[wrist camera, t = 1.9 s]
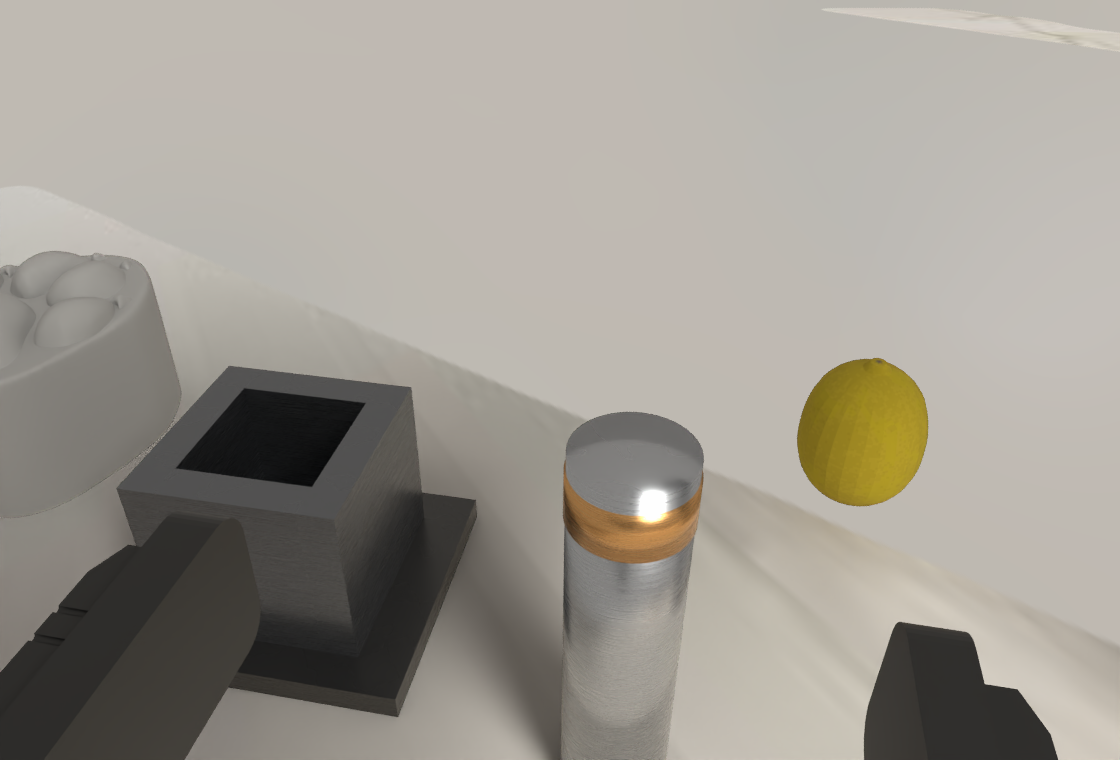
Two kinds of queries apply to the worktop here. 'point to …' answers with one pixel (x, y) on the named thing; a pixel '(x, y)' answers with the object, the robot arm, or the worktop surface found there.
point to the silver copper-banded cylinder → (625, 581)
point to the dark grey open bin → (316, 527)
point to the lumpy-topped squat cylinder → (78, 376)
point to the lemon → (863, 432)
